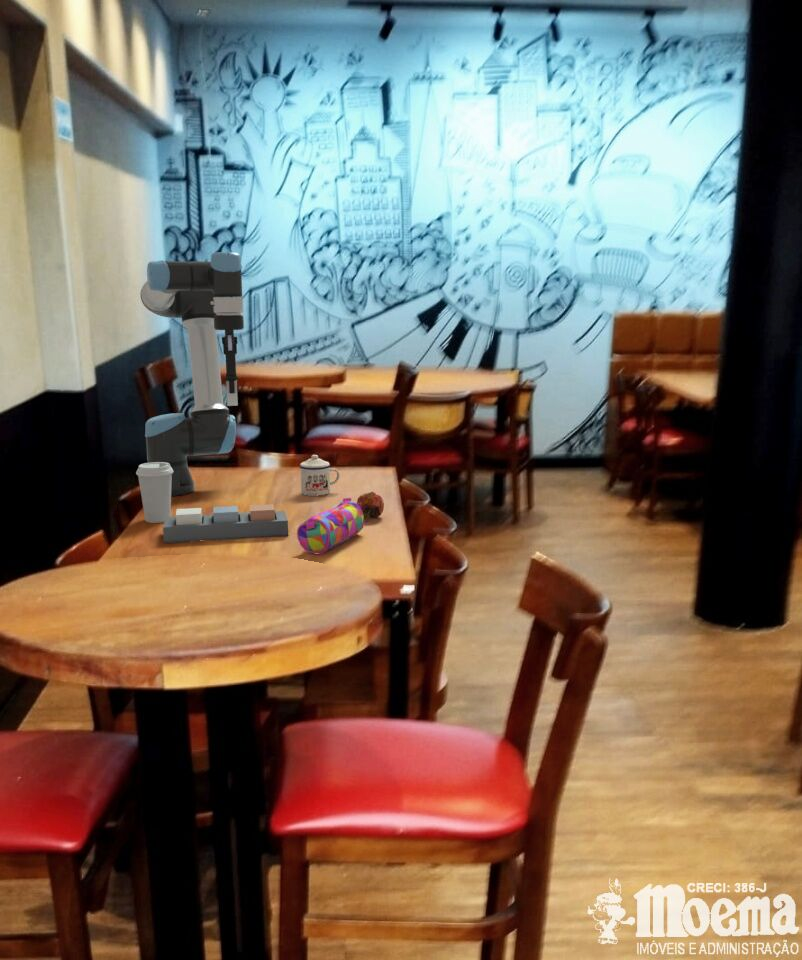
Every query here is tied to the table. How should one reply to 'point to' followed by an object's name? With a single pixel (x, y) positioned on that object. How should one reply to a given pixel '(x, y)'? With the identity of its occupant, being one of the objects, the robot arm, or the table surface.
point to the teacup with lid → (316, 476)
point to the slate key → (225, 514)
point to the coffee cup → (155, 490)
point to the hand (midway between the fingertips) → (232, 405)
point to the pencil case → (331, 527)
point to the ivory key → (188, 516)
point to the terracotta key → (262, 512)
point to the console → (225, 529)
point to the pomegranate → (371, 504)
